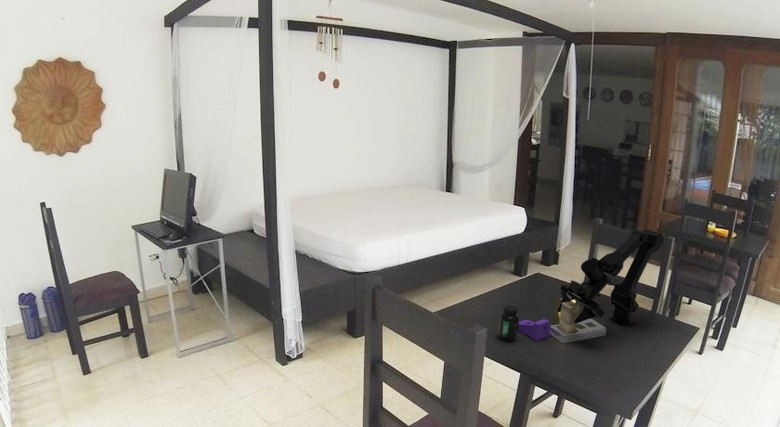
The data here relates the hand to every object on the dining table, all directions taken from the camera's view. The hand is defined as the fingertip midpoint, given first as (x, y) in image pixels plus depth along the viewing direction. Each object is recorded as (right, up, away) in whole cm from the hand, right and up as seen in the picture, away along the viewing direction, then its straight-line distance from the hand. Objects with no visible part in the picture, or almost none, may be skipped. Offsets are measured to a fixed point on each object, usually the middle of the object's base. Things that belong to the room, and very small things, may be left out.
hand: (566, 317), depth 183 cm
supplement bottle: (-22, -8, 0) cm, 23 cm away
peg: (+1, -8, +3) cm, 8 cm away
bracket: (-12, -7, +6) cm, 15 cm away
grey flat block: (+6, -7, +4) cm, 10 cm away
